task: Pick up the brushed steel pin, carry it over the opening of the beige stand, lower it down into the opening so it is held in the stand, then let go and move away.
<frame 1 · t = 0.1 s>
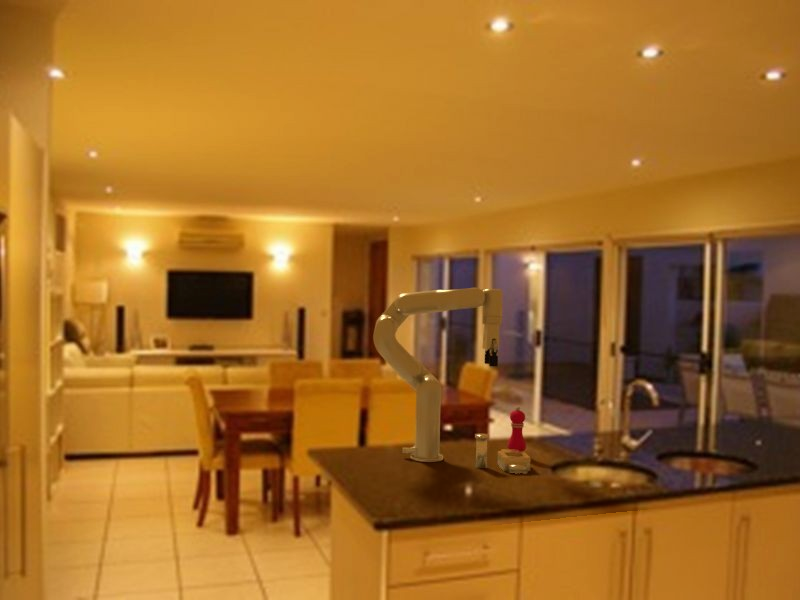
hand: (490, 365, 265), 37 cm above the counter, tool pointing down, fingers open, 9 cm apart
beige stand: (513, 467, 254), on the counter
pepper mill: (516, 457, 271), on the counter
steel pin: (481, 467, 253), on the counter
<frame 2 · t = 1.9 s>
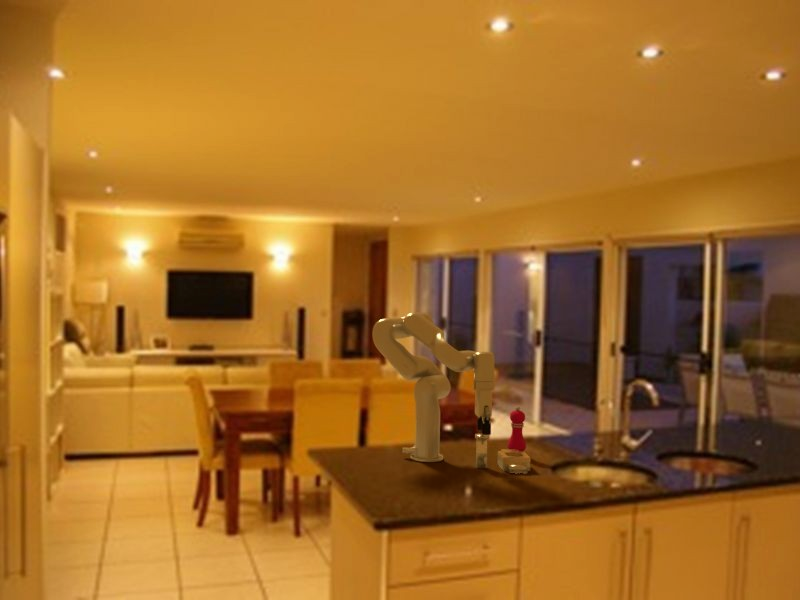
hand: (483, 432, 252), 13 cm above the counter, tool pointing down, fingers open, 9 cm apart
nothing on the counter moved.
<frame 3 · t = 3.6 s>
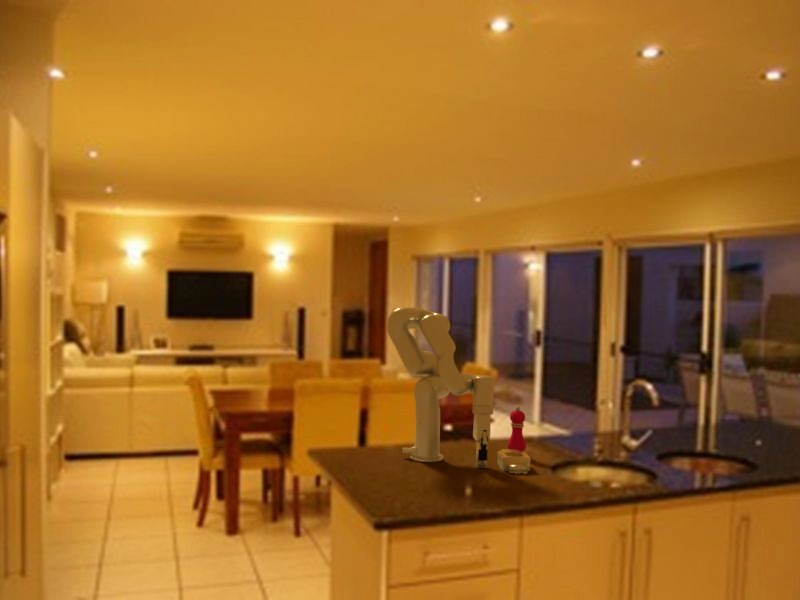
hand: (481, 458, 253), 3 cm above the counter, tool pointing down, fingers closed on steel pin, 4 cm apart
steel pin: (481, 467, 253), on the counter, touching gripper
everything else where it was.
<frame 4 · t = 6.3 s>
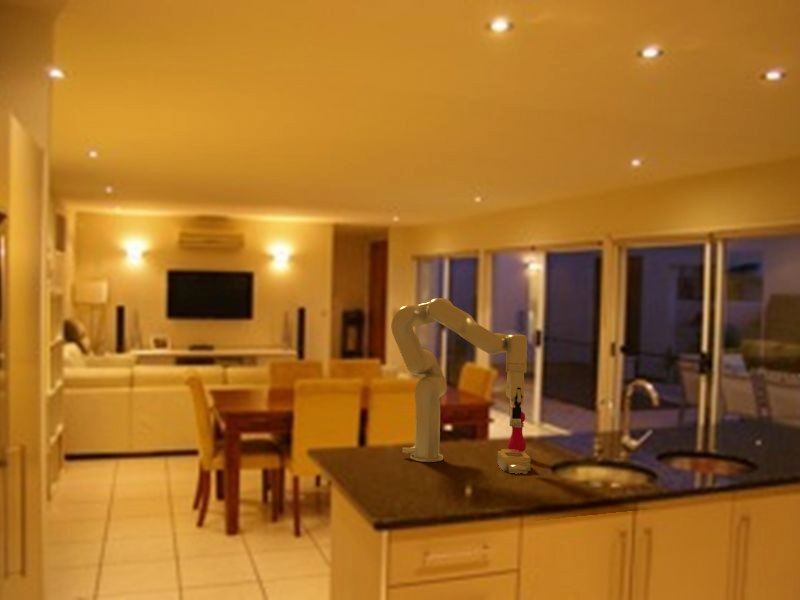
hand: (515, 417, 253), 19 cm above the counter, tool pointing down, fingers closed on steel pin, 4 cm apart
steel pin: (515, 425, 253), point 16 cm above the counter, touching gripper
everything else where it was.
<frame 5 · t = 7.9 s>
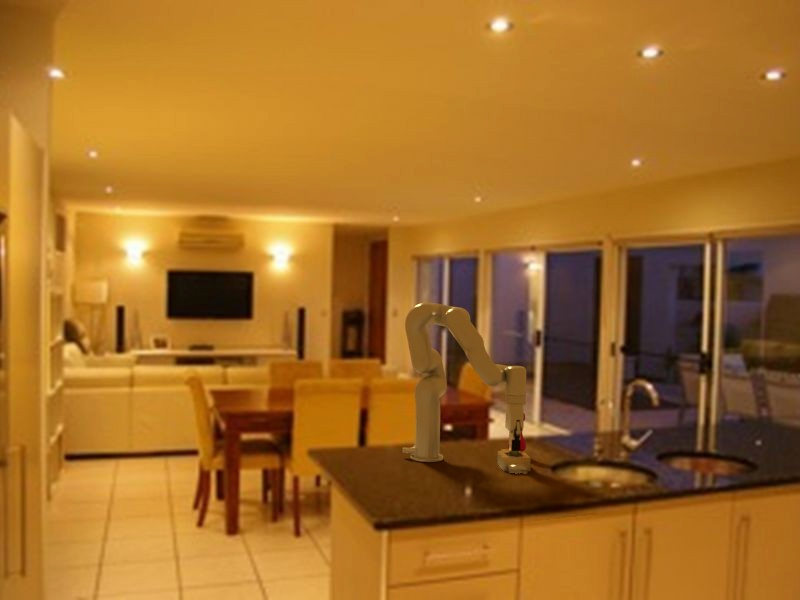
hand: (514, 448, 253), 7 cm above the counter, tool pointing down, fingers closed on steel pin, 4 cm apart
steel pin: (514, 457, 253), point 4 cm above the counter, touching gripper
everything else where it was.
when the fingers open (6 cm above the counter, at t = 9.0 s): steel pin drops 3 cm, resting in beige stand.
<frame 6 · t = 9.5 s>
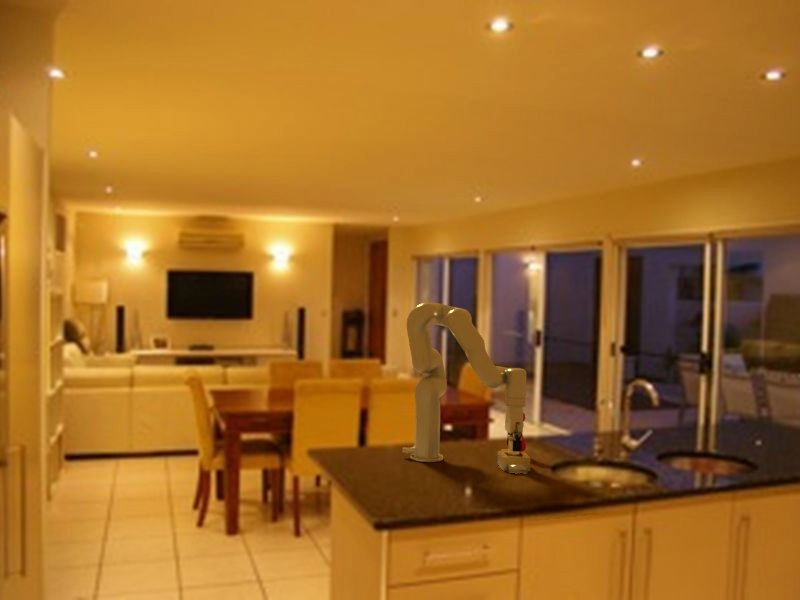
hand: (514, 448, 253), 7 cm above the counter, tool pointing down, fingers open, 9 cm apart
steel pin: (513, 467, 254), resting in beige stand
everything else where it was.
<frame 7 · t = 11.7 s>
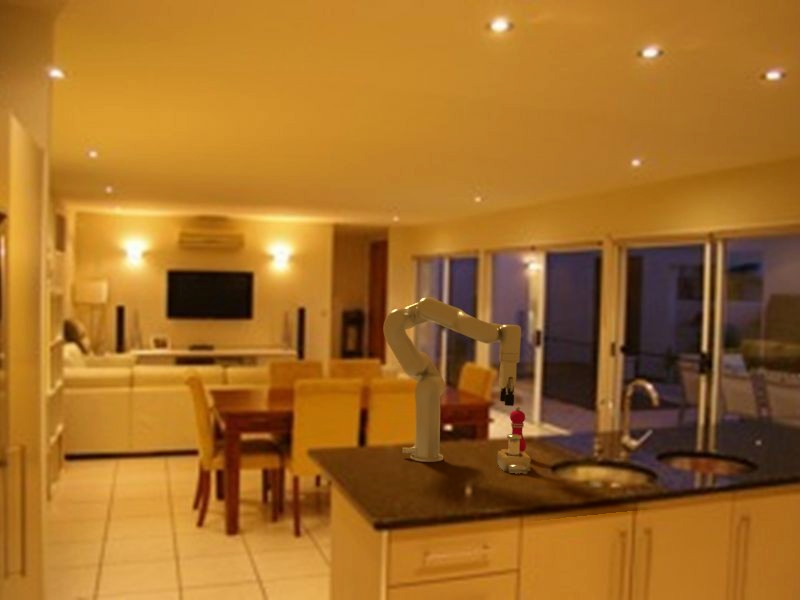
hand: (506, 403, 257), 23 cm above the counter, tool pointing down, fingers open, 9 cm apart
nothing on the counter moved.
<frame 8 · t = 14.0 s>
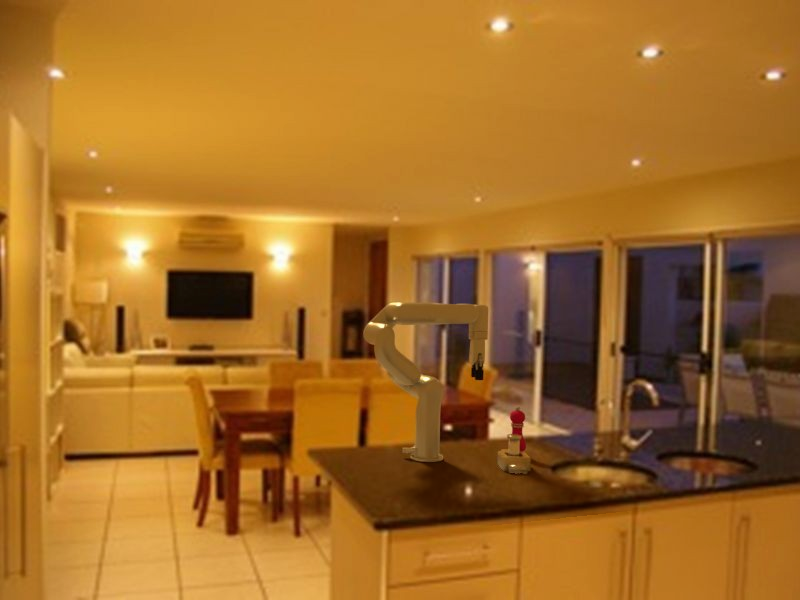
hand: (477, 378, 273), 30 cm above the counter, tool pointing down, fingers open, 9 cm apart
nothing on the counter moved.
at the end: steel pin 0.1 cm off-centre on the beige stand, point 0.0 cm above the beige stand's base; steel pin tilted 0°; the gripper is holding nothing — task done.
